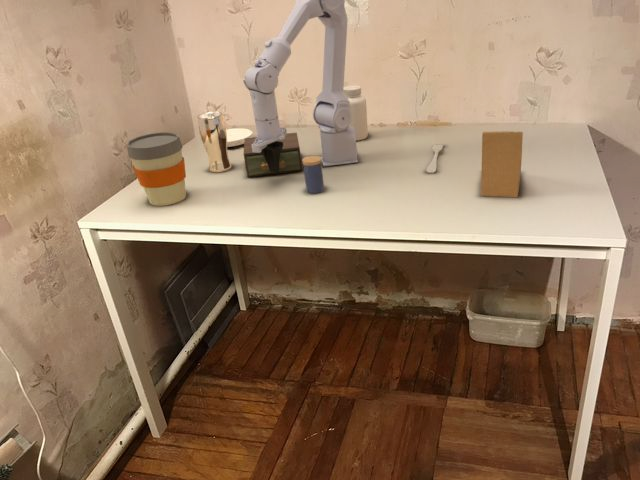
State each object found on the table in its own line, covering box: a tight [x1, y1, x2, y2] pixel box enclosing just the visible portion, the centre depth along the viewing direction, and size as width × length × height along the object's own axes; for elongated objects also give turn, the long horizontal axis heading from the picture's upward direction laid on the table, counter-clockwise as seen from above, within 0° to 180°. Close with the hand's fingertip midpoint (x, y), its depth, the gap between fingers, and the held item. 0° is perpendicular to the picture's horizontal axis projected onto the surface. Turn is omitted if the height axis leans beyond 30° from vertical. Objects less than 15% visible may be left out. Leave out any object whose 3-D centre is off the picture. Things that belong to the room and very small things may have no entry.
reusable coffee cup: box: [126, 131, 187, 207], centre depth 141 cm, size 12×12×15 cm
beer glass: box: [196, 111, 232, 173], centre depth 157 cm, size 7×7×15 cm
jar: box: [301, 155, 325, 195], centre depth 140 cm, size 5×5×8 cm
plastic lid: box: [226, 127, 254, 148], centre depth 181 cm, size 14×14×2 cm
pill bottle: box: [343, 85, 369, 142], centre depth 173 cm, size 8×8×15 cm
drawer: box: [246, 150, 300, 175], centre depth 155 cm, size 17×13×5 cm
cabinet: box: [243, 132, 304, 178], centre depth 158 cm, size 14×15×7 cm
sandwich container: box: [480, 130, 524, 198], centre depth 134 cm, size 9×15×15 cm, turn 166°
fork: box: [426, 144, 444, 174], centre depth 155 cm, size 3×21×3 cm, turn 167°
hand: (274, 171), depth 148 cm, fingers closed, pressing on drawer
